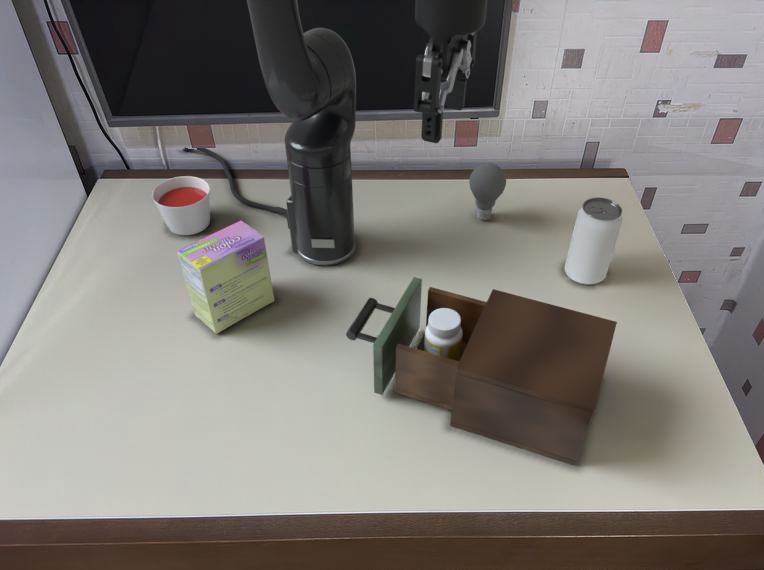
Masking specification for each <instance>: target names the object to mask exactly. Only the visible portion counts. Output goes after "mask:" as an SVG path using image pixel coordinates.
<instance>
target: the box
mask: <svg viewBox="0 0 764 570" xmlns="http://www.w3.org/2000/svg"><path fill="white" fill-rule="evenodd" d="M176 252H177V256H178V259H179V263H180V266H181V270H182V274H183V278H184V281H185V284H186V288H187V291H188V295H189V299H190V302H191V305H192V309H193V312H194V315H195V316H196V317H197V318H198V319H199V320H200V321H201V322H202V323H203V324H204V325H205V326H207V327H208V328H209V329H210V330H211V331H212V332H214V334H216V335H218V334H219V333H221V332H222V331H225V330H226V329H227V328H229V327H231V326H232V325H235V324H236V323H238V322H240V321H242V320H243V319H245V318H247V317H248V316H250V315H252V314H254V313H255V312H257V311H260V310H261V309H263V308H264V307H266V306H268V305H269V304H272V303H274V302H275V300H276V299H275V295H274V288H273V284H272V277H271V276H272V275H271V271H270V264H269V259H268V255H267V254H268V253H267V248H266V242H265V237H264V235H263V234H261V233H260V232H259V231H257V230H256V229H254V228H253V227H252V226H250V225H248V224H247V223H246V222H244V221H243V220H239V221H236V222H235V223H233V224H232V223H231V224H230V225H228V226H226V227H224V228H222V229H219V230H218V231H215V232H214V233H211V234H209V235H208V236H205V237H203V238H201V239H199V240H197V241H195V242H193V243H191V244H188V245H187V246H184V247H182V248H180V249H177V250H176Z"/></svg>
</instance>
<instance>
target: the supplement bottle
mask: <svg viewBox="0 0 764 570" xmlns="http://www.w3.org/2000/svg"><path fill="white" fill-rule="evenodd" d="M424 329H425V330H424V334H425V343H424V351H425V352H429V353H432V354H435V355H439V356H442V357H445V358H449V359H452V360H456V361H460V358H461V348H462V338H463V331H462V328H461V318H460V315H459V314H458V313H457V312H456V311H454V310H452V309H449V308H440V309H436V310H434V311H433V312H432V313H431V314H430V316H429V321H428V325H427V327H426V326H425V328H424Z"/></svg>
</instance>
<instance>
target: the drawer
mask: <svg viewBox="0 0 764 570" xmlns="http://www.w3.org/2000/svg"><path fill="white" fill-rule="evenodd" d="M422 284H423V278H420V277H416V276H413V277H412V279H411V280H410V282H409V284H408V285H407V287H406V289H405V290H404V292H403V294H402V296H401V297H400V299H399V301H398V302H397V304H396V306H395V307H393V306H390V305H386V304H382V303H380V302H378V300H377V299H376V298H374V297H369V298H368V299H367V300H366V302H365V303H364V305H363V306H362V307H361V310H360V311H359V312H358V314H357V316H356V317H355V319H354V320H353V321H352V323H351V324H350V327H349V328H348V330H346V332H345V336H346V338H347V339H349V340H350V341H356V340H357V339H359V340H362V341H365V342H369V343H371V344H372V353H373V393H375V394H378V395H381V396H383V395H384V393H385V392H386V390H387V388H388V386H389V385H390V383H391V380H392V378H393V377H395V378H394V379H395V382H394V383H395V384H394V385H395V386H394V388H395V389H394V392H395V393H396V394H400V395H402V396H405V397H409V398H412V399H415V400H419V401H421V402H424V403H428V404H430V405H434V406H437V407H439V408H440V407H441V408H444V409H447V410H450V411H452V404H453V394H454V385H455V376H456V368H457V366H458V363H459V361H456V360H452V359H449V358H445V357H442V356H439V355H435V354H432V353H429V352H425V351H424V343H425V333H424V334H423V336H422V338H421V340H419V343H418V345H417V346H416V348H415V347H413V346H411V344H412V342H413V340H414V338H415V336H416V335H417V334H418V331H419V329H420V327H421V308H422V289H423V288H422V286H423V285H422ZM426 300H427V301H426V302H427V303H426V317H425V318H426V319H425V328H426V327H427V325H428V321H429V316H430V314H431V313H432V312H433V311H434V310H436V309H440V308H449V309H452V310H454V311H456V312H457V313H458V314H459V315H460V318H461V328H462V331H463V338H462V348H461V357H462V355H463V353H464V350H465V348H466V346H467V344H468V342H469V340H470V337H471V335H472V333H473V331H474V329H475V327H476V324H477V322H478V320H479V318H480V316H481V314H482V311H483V309H484V307H485V305H486V303H487V301H484V300H480V299H476V298H473V297H469V296H465V295H463V294H459V293H454V292H452V291H448V290H444V289H440V288H436V287H433V286H429V288H428V289H427V299H426ZM375 310H378V311H382V312H386V313H390V316H389V317H388V319H387V321H386V323H385V324H384V326H383V327H382V329H381V331H380V332H379V334H378V336H373V335H371V334H366V333H363V332H362V331H363V329H364V328H365V326H366V325H367V323H368V322H369V320H370V319H371V316H372V315H373V314H374V312H375ZM460 359H461V358H460ZM394 375H395V376H394Z"/></svg>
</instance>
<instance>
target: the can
mask: <svg viewBox="0 0 764 570" xmlns="http://www.w3.org/2000/svg"><path fill="white" fill-rule="evenodd" d="M622 215H623V209H622V206H621V205H620V204H619V203H618V202H616V201H614V200H613V199H610V198H607V197H599V196H598V197H597V196H596V197H590V198H588V199H586V200H585V201H584V202H583V204H582V207H581V208H580V209H579V210H578V212H577V214H576V219H575V221H574V227H573V232H572V235H571V237H570V238H571V239H570V242H569V247H568V251H567V255H566V259H565V264H564V273H565V274H566V275H567V277H568V278H569V279H570V280H572V281H573V282H575V283H577V284H580V285H584V286H585V285H586V286H592V285H596V284H600V283H601V282H602V281H604V280H605V278H606V277H607V274H608V271H609V268H610V265H611V261H612V258H613V255H614V251H615V248H616V244H617V242H618V238H619V236H620V235H619V234H620V232H621V227H622V225H623V217H622Z"/></svg>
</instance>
